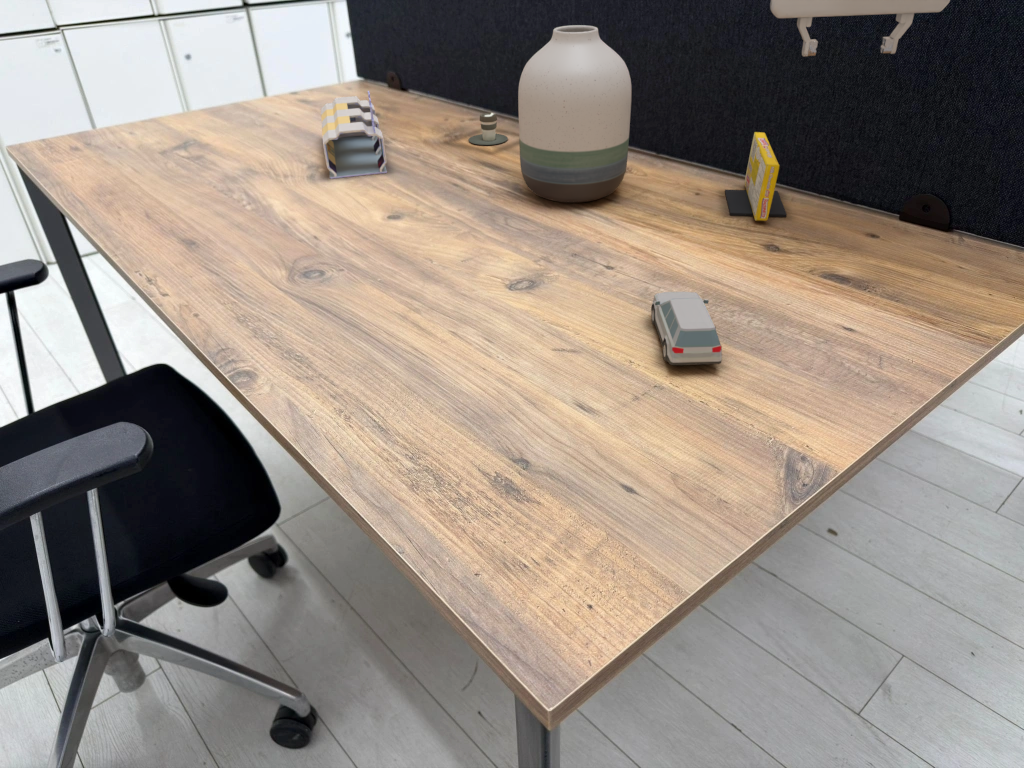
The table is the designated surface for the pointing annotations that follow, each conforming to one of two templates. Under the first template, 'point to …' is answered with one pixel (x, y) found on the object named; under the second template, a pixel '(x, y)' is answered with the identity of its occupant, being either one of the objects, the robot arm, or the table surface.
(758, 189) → the candy box
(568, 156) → the vase
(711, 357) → the toy car
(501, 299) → the table surface
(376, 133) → the diorama
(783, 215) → the mat
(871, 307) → the table surface
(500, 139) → the striped post on disc
